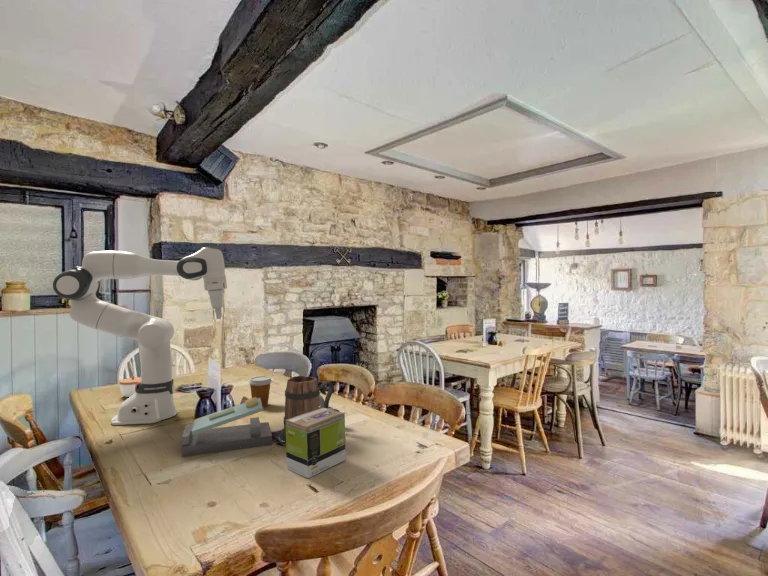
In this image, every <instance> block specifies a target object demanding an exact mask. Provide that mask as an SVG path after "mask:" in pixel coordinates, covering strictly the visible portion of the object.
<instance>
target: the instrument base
mask: <svg viewBox="0 0 768 576" xmlns="http://www.w3.org/2000/svg"><path fill="white" fill-rule="evenodd" d="M193 425H194V423H186V425H185V427H184V430H183V433H182V437H181V457H191V456H197V455H204V454H205V455H206V454H213V453H219V452H226V451H235V450H241V449H249V448H250V449H251V448H256V447H262V446H270V445H271V446H272V445H273V434H272V429H271V426H270V423H269V422H268V421H266V422H261V421H260V417H250V418H249V424H240V425H231V426H223V427H215V428H212V429H209V430H206V431H203V432H200V433H197V434H194V435H192V428H193Z"/></svg>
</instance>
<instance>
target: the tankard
mask: <svg viewBox="0 0 768 576" xmlns="http://www.w3.org/2000/svg"><path fill="white" fill-rule="evenodd" d="M327 385H328V391H327ZM334 387H335V386H334V384H333V383H332V382H331V381H329V380H325V381H323V382H322V383H321V384H320V386H319V383H318V379H317V377H314V376H305V375H296V376H292V377H290V378H288V379H287V382H286V387H285V390H284V397H285V399H284V416H283V428H282V429H281V431H280V433H279V434H280V435H279V434H278V435H279V437H280V439H281V440H283V441H285V442H286V420H287V419H290V418H293V417H296V416H299V415H302V414H305V413H308V412H311V411H314V410H317V409H319V407H320V406H319V391H321V393H320V394H322V395H324V396H325V397H324V401H325V402H324V408H327V409H328V407H330V405H329V403H330V400H331V397H332V395H333V393H334V389H335V388H334ZM333 410H334V411H338V412H341V411H340V410H339V409H337V408H333Z"/></svg>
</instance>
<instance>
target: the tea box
mask: <svg viewBox="0 0 768 576" xmlns="http://www.w3.org/2000/svg"><path fill="white" fill-rule="evenodd" d="M345 418H346V416H345V412H341V411H340V412H338V411H334V410H330V409H327V408H324V407H323V408H320V409H317V410H314V411H311V412H308V413H305V414H302V415H299V416H296V417H293V418H290V419H287V420H286V443H285V457H286V462H285V464H286V469H287V470H289V471H290V472H293V473H295V474H297V475H298V476H299V475H300V476H301V477H304V478H305V479H309V478H312V477H314V476H316V475H318V474H320V473H321V472H324V471H326V470H328V469H330V468H332V467H334V466H336V465H338V464H340V463H343V462H344V461H346V460H347V458H346V457H347V455H346V453H347V452H346V451H347V450H346V420H345Z"/></svg>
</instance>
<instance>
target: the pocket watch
mask: <svg viewBox="0 0 768 576" xmlns="http://www.w3.org/2000/svg"><path fill="white" fill-rule="evenodd" d="M321 394H322V393H321V391H319V409H320V408H323V407H324V402H325V398H324V396H322V395H321ZM328 409H330V410H333V409H334V408H333V407H332V406H329V407H328Z"/></svg>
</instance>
